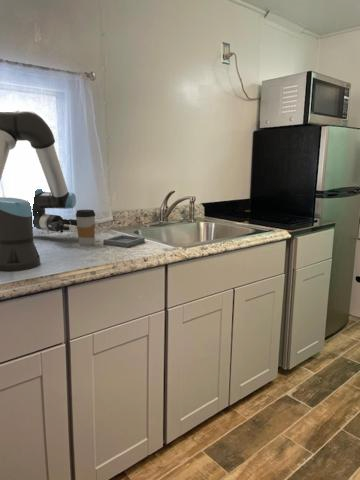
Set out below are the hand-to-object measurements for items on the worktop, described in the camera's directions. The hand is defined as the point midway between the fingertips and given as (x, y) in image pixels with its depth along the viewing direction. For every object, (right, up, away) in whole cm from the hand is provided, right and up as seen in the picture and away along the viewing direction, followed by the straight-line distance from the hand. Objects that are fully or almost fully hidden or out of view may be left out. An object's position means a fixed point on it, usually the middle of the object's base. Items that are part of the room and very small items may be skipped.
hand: (86, 226), depth 163 cm
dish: (+16, -7, +4) cm, 18 cm away
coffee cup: (0, -8, +1) cm, 8 cm away
